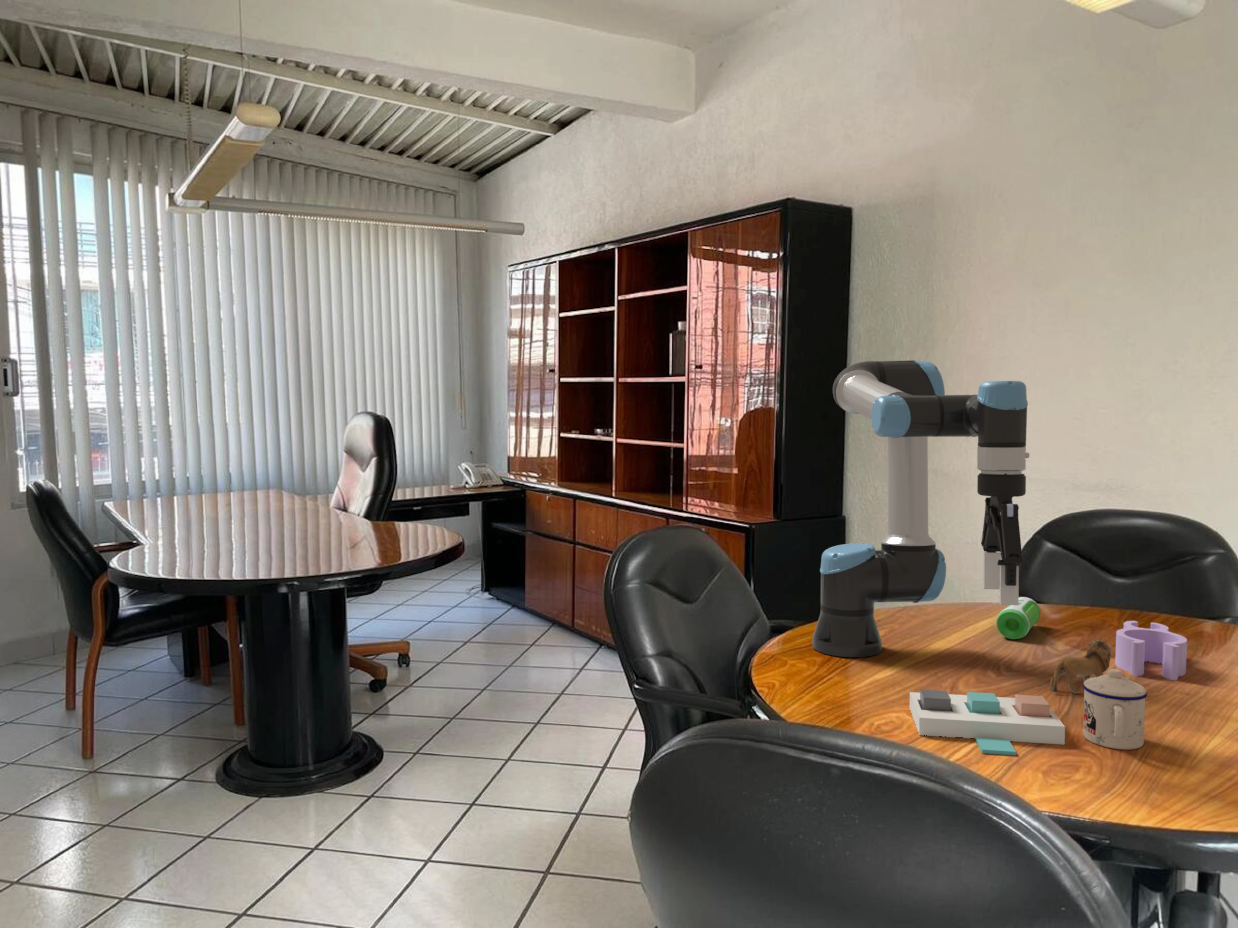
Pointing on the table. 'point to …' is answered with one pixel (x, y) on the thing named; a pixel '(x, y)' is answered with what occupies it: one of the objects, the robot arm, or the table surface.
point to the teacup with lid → (1114, 711)
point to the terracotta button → (1032, 706)
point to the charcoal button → (935, 700)
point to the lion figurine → (1083, 665)
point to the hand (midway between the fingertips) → (1000, 596)
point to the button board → (986, 722)
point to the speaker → (1018, 618)
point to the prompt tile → (995, 746)
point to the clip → (1150, 649)
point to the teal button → (983, 703)
